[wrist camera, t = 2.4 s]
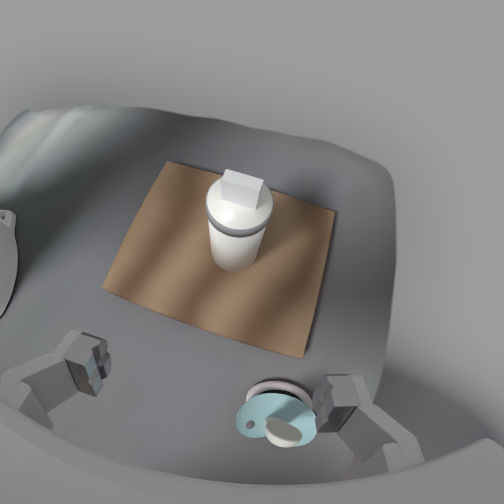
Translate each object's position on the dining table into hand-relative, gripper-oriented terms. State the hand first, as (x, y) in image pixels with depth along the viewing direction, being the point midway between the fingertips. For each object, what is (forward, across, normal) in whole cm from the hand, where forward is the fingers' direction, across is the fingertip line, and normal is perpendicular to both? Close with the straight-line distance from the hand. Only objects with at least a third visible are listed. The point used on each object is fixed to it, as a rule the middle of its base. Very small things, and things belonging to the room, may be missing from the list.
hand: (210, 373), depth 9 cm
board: (+19, +1, +3) cm, 19 cm away
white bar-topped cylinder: (+18, 0, +3) cm, 18 cm away
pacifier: (+8, -6, +14) cm, 17 cm away
